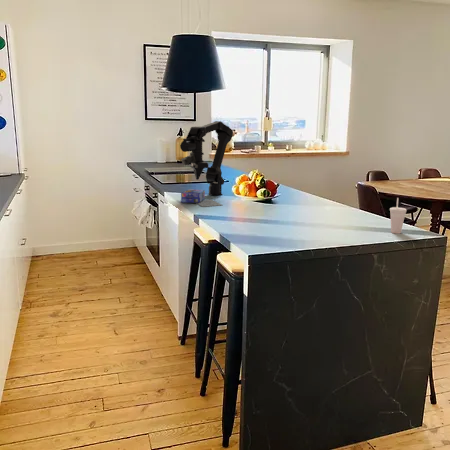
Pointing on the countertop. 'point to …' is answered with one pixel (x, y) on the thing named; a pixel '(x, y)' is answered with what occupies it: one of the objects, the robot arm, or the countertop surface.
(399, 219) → the smoothie
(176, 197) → the countertop surface
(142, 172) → the countertop surface
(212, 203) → the mat
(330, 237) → the countertop surface
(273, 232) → the countertop surface
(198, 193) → the ink cartridge box
